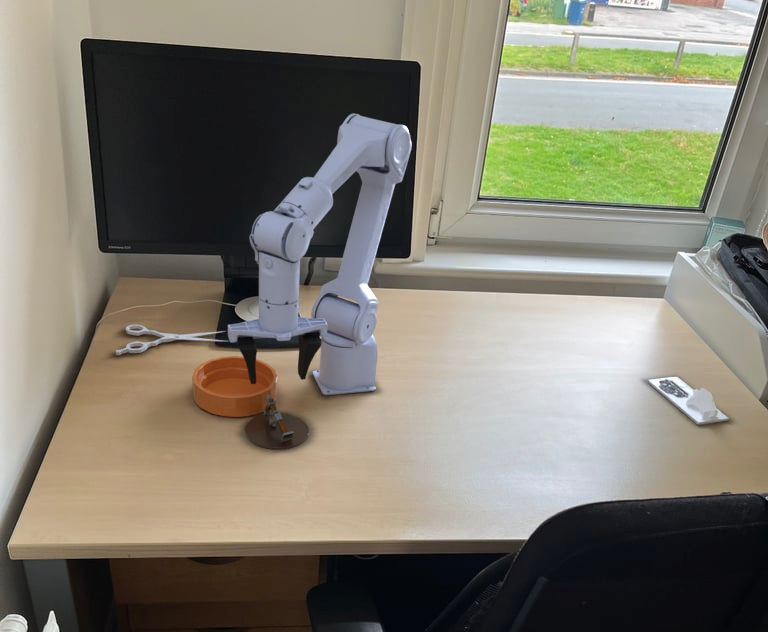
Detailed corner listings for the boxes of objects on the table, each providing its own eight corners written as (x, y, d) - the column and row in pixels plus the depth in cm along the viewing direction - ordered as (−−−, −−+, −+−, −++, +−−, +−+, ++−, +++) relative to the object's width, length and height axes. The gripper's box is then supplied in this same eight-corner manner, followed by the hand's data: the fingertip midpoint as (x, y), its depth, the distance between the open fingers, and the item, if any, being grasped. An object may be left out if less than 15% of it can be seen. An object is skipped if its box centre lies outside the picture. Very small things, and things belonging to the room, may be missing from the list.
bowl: (267, 373, 145) (267, 353, 143) (284, 414, 134) (285, 393, 132) (188, 380, 141) (187, 359, 138) (199, 422, 130) (199, 401, 128)
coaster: (300, 411, 135) (300, 409, 135) (315, 445, 128) (315, 443, 127) (239, 417, 132) (239, 415, 132) (251, 453, 125) (251, 451, 124)
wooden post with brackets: (267, 407, 133) (273, 391, 130) (288, 447, 130) (294, 431, 126) (257, 410, 132) (263, 393, 129) (278, 450, 129) (284, 434, 126)
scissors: (117, 324, 153) (226, 321, 158) (117, 328, 154) (226, 325, 158) (115, 352, 145) (231, 347, 149) (116, 356, 145) (231, 351, 150)
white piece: (728, 420, 146) (736, 398, 143) (697, 424, 144) (705, 402, 141) (676, 378, 157) (683, 357, 155) (647, 381, 155) (653, 360, 153)
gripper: (233, 311, 113) (234, 396, 121) (335, 305, 118) (330, 387, 125) (224, 290, 119) (226, 372, 126) (322, 285, 123) (318, 364, 131)
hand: (277, 378), depth 126 cm, fingers open, 7 cm apart
